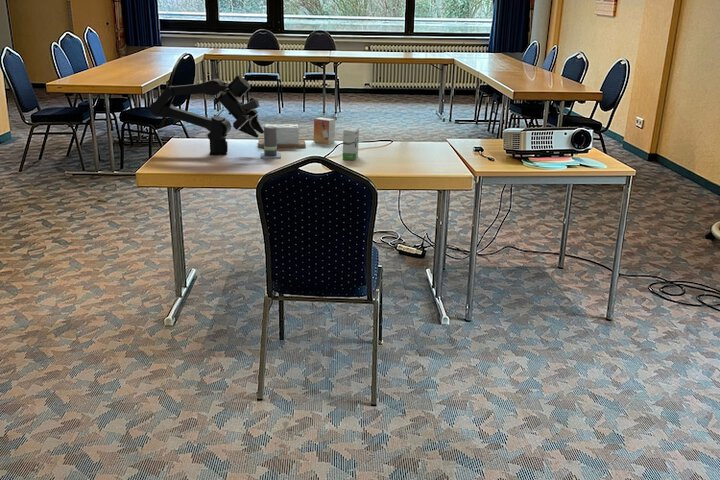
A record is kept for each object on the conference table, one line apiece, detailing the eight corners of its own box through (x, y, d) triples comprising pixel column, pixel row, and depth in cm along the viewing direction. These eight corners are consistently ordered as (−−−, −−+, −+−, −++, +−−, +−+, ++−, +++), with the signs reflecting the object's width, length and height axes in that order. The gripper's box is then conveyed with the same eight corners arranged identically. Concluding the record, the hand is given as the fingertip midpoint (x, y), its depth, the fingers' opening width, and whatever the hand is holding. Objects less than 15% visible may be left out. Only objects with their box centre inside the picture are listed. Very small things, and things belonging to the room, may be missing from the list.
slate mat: (260, 158, 274) (260, 156, 274) (260, 154, 280) (260, 153, 280) (280, 158, 275) (280, 156, 275) (280, 154, 282) (280, 153, 281)
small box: (313, 142, 308) (313, 118, 305) (319, 140, 313) (320, 116, 310) (328, 144, 305) (329, 120, 302) (335, 142, 310) (335, 118, 306)
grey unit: (258, 147, 293) (258, 127, 290) (258, 142, 302) (258, 123, 300) (305, 147, 296) (305, 128, 293) (304, 143, 305) (304, 124, 302)
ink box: (354, 160, 276) (355, 131, 272) (342, 159, 277) (342, 130, 273) (358, 156, 284) (359, 127, 280) (346, 155, 285) (347, 126, 281)
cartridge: (263, 156, 275) (263, 128, 271) (264, 153, 280) (264, 126, 276) (276, 156, 275) (276, 128, 272) (277, 153, 280) (277, 126, 277)
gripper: (240, 94, 261) (269, 125, 264) (252, 88, 279) (279, 117, 282) (220, 114, 265) (249, 144, 267) (233, 107, 282) (260, 135, 285)
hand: (260, 134), depth 275 cm, fingers open, 9 cm apart
